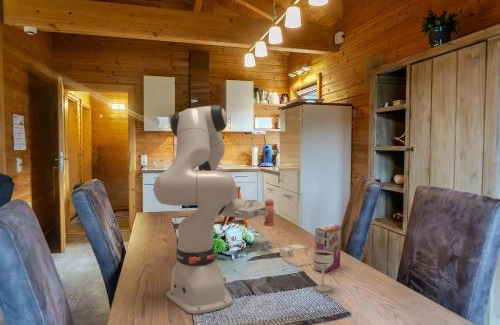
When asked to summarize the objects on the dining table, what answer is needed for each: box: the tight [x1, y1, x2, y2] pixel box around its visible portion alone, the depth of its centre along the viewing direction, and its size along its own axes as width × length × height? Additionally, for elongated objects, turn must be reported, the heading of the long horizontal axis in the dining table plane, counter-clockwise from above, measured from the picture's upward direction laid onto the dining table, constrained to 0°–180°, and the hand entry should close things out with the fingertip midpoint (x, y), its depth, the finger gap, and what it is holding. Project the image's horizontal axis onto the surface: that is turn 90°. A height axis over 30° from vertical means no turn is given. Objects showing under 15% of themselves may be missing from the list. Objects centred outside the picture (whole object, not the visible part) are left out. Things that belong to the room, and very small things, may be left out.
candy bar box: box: [313, 223, 342, 274], centre depth 129 cm, size 11×5×16 cm, turn 135°
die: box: [279, 247, 294, 259], centre depth 141 cm, size 4×4×4 cm
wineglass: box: [312, 249, 334, 292], centre depth 111 cm, size 7×7×12 cm
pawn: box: [263, 198, 275, 227], centre depth 147 cm, size 5×5×12 cm
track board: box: [252, 243, 309, 258], centre depth 149 cm, size 10×30×1 cm, turn 119°
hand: (271, 212), depth 146 cm, fingers closed on pawn, 4 cm apart
